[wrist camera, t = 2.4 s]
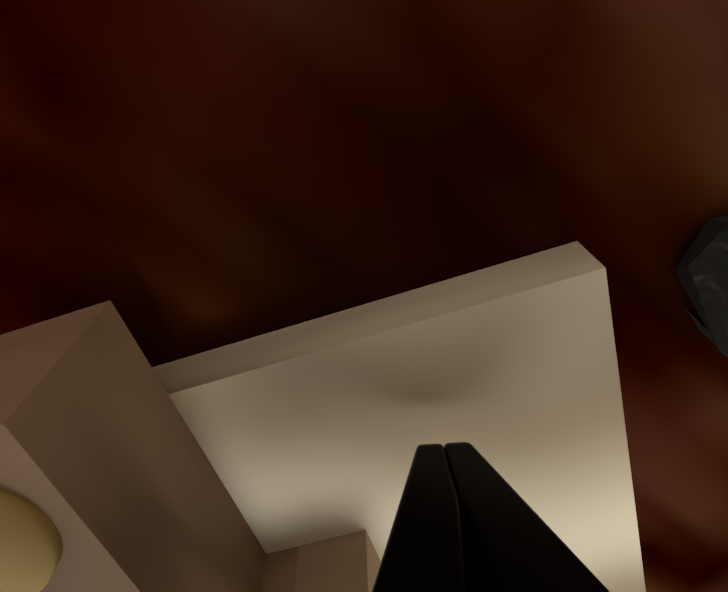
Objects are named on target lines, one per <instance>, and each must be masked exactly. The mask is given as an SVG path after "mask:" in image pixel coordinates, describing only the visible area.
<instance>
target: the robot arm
mask: <svg viewBox="0 0 728 592" xmlns="http://www.w3.org/2000/svg"><path fill="white" fill-rule="evenodd" d="M372 592H610V591H609V590H608V589H607V588H606V587H605V586H604V585H603V584H602V583H601V582H600V581H599V580H598V578H597V577H596V576H595V575H594V574H593V573H592V572H591V571H590V570H589V569H588V568H587V567H586V566H585V565H584V564H583V562H582V561H581V560H580V559H579V558H578V557H577V556H576V555H575V554H574V553H573V552H572V551H571V550H570V549H569V548H568V546H567V545H566V544H565V543H564V542H563V541H562V540H561V539H560V538H559V537H558V536H557V535H556V534H555V533H554V532H553V530H552V529H551V528H550V527H549V526H548V525H547V524H546V523H545V522H544V521H543V520H542V519H541V518H540V517H539V516H538V515H537V513H536V512H535V511H534V510H533V509H532V508H531V507H530V506H529V505H528V504H527V503H526V502H525V501H524V500H523V499H522V497H521V496H520V495H519V494H518V493H517V492H516V491H515V490H514V489H513V488H512V487H511V486H510V485H509V484H508V483H507V481H506V480H505V479H504V478H503V477H502V476H501V475H500V474H499V473H498V472H497V471H496V470H495V469H494V468H493V467H492V466H491V464H490V463H489V462H488V461H487V460H486V459H485V458H484V457H483V456H482V455H481V454H480V453H479V452H478V451H477V450H476V448H475V447H474V446H473V445H472V444H470V443H468V442H454V443H446V444H445V445H444V447H443V445H442V444H439V443H436V444H421V445H419V446H418V447H417V448H416V451H415V454H414V458H413V461H412V464H411V467H410V470H409V474H408V477H407V480H406V483H405V487H404V490H403V493H402V496H401V499H400V503H399V506H398V509H397V512H396V515H395V519H394V522H393V525H392V528H391V531H390V535H389V538H388V541H387V544H386V547H385V551H384V554H383V557H382V560H381V564H380V567H379V570H378V573H377V576H376V580H375V583H374V586H373V589H372Z"/></svg>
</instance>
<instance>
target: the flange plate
mask: <svg viewBox="0 0 728 592" xmlns="http://www.w3.org/2000/svg"><path fill="white" fill-rule="evenodd" d="M380 564H381V561H380V559H379V557H378V555H377V552H376V550H375V548H374V546H373V544H372V542H371V540H370V537H369V535H368V533H367V531H366V530H363V531H359V532H355V533H350V534H346V535H342V536H338V537H334V538H330V539H326V540H322V541H318V542H314V543H310V544H306V545H302V546H297V547H293V548H289V549H285V550H281V551H277V552H273V553H269V554H266V553H265V551H264V549H263V548H262V546H261V545H260V543H259V541H258V540H257V538H256V536H255V535H254V533H253V532H252V530H251V528H250V527H249V525H248V523H247V522H246V520H245V519H244V517H243V515H242V514H241V512H240V510H239V509H238V507H237V505H236V504H235V502H234V501H233V499H232V497H231V496H230V494H229V492H228V491H227V489H226V488H225V486H224V484H223V483H222V481H221V479H220V478H219V476H218V475H217V473H216V471H215V470H214V468H213V466H212V465H211V463H210V461H209V460H208V458H207V457H206V455H205V453H204V452H203V450H202V448H201V447H200V445H199V444H198V442H197V440H196V439H195V437H194V435H193V434H192V432H191V431H190V429H189V427H188V426H187V424H186V422H185V421H184V419H183V417H182V416H181V414H180V413H179V411H178V409H177V408H176V406H175V404H174V403H173V401H172V400H171V398H170V396H169V395H168V393H167V391H166V390H165V388H164V387H163V385H162V383H161V382H160V380H159V378H158V377H157V375H156V373H155V372H154V370H153V369H152V367H151V365H150V364H149V362H148V360H147V359H146V357H145V356H144V354H143V352H142V351H141V349H140V347H139V346H138V344H137V343H136V341H135V339H134V338H133V336H132V334H131V333H130V331H129V329H128V328H127V326H126V325H125V323H124V321H123V320H122V318H121V316H120V315H119V313H118V312H117V310H116V308H115V307H114V305H113V303H112V302H111V300H109V301H106V302H103V303H99V304H96V305H93V306H90V307H87V308H84V309H81V310H77V311H74V312H71V313H68V314H65V315H62V316H59V317H55V318H52V319H49V320H46V321H43V322H40V323H36V324H33V325H30V326H27V327H24V328H21V329H18V330H14V331H11V332H8V333H5V334H2V335H0V592H372V589H373V586H374V583H375V580H376V576H377V573H378V570H379V567H380Z"/></svg>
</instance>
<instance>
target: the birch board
mask: <svg viewBox="0 0 728 592" xmlns="http://www.w3.org/2000/svg"><path fill="white" fill-rule="evenodd" d="M152 369H153V370H154V372H155V373H156V375H157V377H158V378H159V380H160V382H161V383H162V385H163V387H164V388H165V390H166V391H167V393H168V395H169V396H170V398H171V400H172V401H173V403H174V404H175V406H176V408H177V409H178V411H179V413H180V414H181V416H182V417H183V419H184V421H185V422H186V424H187V426H188V427H189V429H190V431H191V432H192V434H193V435H194V437H195V439H196V440H197V442H198V444H199V445H200V447H201V448H202V450H203V452H204V453H205V455H206V457H207V458H208V460H209V461H210V463H211V465H212V466H213V468H214V470H215V471H216V473H217V475H218V476H219V478H220V479H221V481H222V483H223V484H224V486H225V488H226V489H227V491H228V492H229V494H230V496H231V497H232V499H233V501H234V502H235V504H236V505H237V507H238V509H239V510H240V512H241V514H242V515H243V517H244V519H245V520H246V522H247V523H248V525H249V527H250V528H251V530H252V532H253V533H254V535H255V536H256V538H257V540H258V541H259V543H260V545H261V546H262V548H263V549H264V551H265V553H266V554H269V553H273V552H277V551H281V550H285V549H289V548H293V547H297V546H302V545H306V544H310V543H314V542H318V541H322V540H326V539H330V538H334V537H338V536H342V535H346V534H350V533H355V532H359V531H363V530H366V531H367V533H368V535H369V537H370V540H371V542H372V544H373V546H374V548H375V550H376V552H377V555H378V557H379V559H380V561H381V560H382V557H383V554H384V551H385V547H386V544H387V541H388V538H389V535H390V531H391V528H392V525H393V522H394V519H395V515H396V512H397V509H398V506H399V503H400V499H401V496H402V493H403V490H404V487H405V483H406V480H407V477H408V474H409V470H410V467H411V464H412V461H413V458H414V454H415V451H416V448H417V447H418V446H419V445H421V444H436V443H439V444H442V445H443V447H444V445H445V444H446V443H454V442H468V443H470V444H472V445H473V446H474V447H475V448H476V450H477V451H478V452H479V453H480V454H481V455H482V456H483V457H484V458H485V459H486V460H487V461H488V462H489V463H490V464H491V466H492V467H493V468H494V469H495V470H496V471H497V472H498V473H499V474H500V475H501V476H502V477H503V478H504V479H505V480H506V481H507V483H508V484H509V485H510V486H511V487H512V488H513V489H514V490H515V491H516V492H517V493H518V494H519V495H520V496H521V497H522V499H523V500H524V501H525V502H526V503H527V504H528V505H529V506H530V507H531V508H532V509H533V510H534V511H535V512H536V513H537V515H538V516H539V517H540V518H541V519H542V520H543V521H544V522H545V523H546V524H547V525H548V526H549V527H550V528H551V529H552V530H553V532H554V533H555V534H556V535H557V536H558V537H559V538H560V539H561V540H562V541H563V542H564V543H565V544H566V545H567V546H568V548H569V549H570V550H571V551H572V552H573V553H574V554H575V555H576V556H577V557H578V558H579V559H580V560H581V561H582V562H583V564H584V565H585V566H586V567H587V568H588V569H589V570H590V571H591V572H592V573H593V574H594V575H595V576H596V577H597V578H598V580H599V581H600V582H601V583H602V584H603V585H604V586H605V587H606V588H607V589H608V590H609V591H610V592H646V589H645V581H644V573H643V565H642V557H641V549H640V541H639V532H638V524H637V516H636V508H635V500H634V492H633V484H632V476H631V468H630V460H629V452H628V444H627V436H626V428H625V420H624V412H623V404H622V396H621V388H620V380H619V372H618V364H617V355H616V347H615V339H614V331H613V323H612V315H611V307H610V299H609V291H608V283H607V275H606V268H605V267H604V266H603V265H602V264H601V263H600V262H599V261H598V260H597V259H596V258H595V257H594V256H593V255H592V254H590V253H589V252H588V251H587V250H586V249H585V248H584V247H583V246H582V245H581V244H580V243H579V242H578V241H575V242H571V243H568V244H565V245H561V246H558V247H555V248H551V249H548V250H545V251H541V252H538V253H534V254H531V255H528V256H524V257H521V258H518V259H514V260H511V261H508V262H504V263H501V264H498V265H494V266H491V267H487V268H484V269H481V270H477V271H474V272H471V273H467V274H464V275H461V276H457V277H454V278H451V279H447V280H444V281H440V282H437V283H434V284H430V285H427V286H424V287H420V288H417V289H414V290H410V291H407V292H403V293H400V294H397V295H393V296H390V297H387V298H383V299H380V300H377V301H373V302H370V303H367V304H363V305H360V306H356V307H353V308H350V309H346V310H343V311H340V312H336V313H333V314H330V315H326V316H323V317H320V318H316V319H313V320H309V321H306V322H303V323H299V324H296V325H293V326H289V327H286V328H283V329H279V330H276V331H273V332H269V333H266V334H262V335H259V336H256V337H252V338H249V339H246V340H242V341H239V342H236V343H232V344H229V345H225V346H222V347H219V348H215V349H212V350H209V351H205V352H202V353H199V354H195V355H192V356H189V357H185V358H182V359H178V360H175V361H172V362H168V363H165V364H162V365H158V366H155V367H152Z"/></svg>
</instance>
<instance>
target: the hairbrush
mask: <svg viewBox="0 0 728 592" xmlns="http://www.w3.org/2000/svg"><path fill="white" fill-rule="evenodd" d="M675 268H676V272H677V276H678V278H679V280H680V281H681V283H682V285H683V287H684V289H685V290H686V292H687V294H688V296H689V298H690V299H691V301H692V303H693V305H694V307H695V308H696V310H697V312H698V314H699V316H700V317H701V319H702V321H703V323H704V325H705V326H706V328H707V329H706V328H705V327H704V326H703V325H702V324H701V323H700V322H699V321H698V320H697V319H696V318H695V317H694V316H693V315H692V314H691V313H690V312H689V311H688V310H687V308H686V306H685V305H684V303H683V305H684V307H685V309H686V310H687V312H688V313H689V315H690V316H691V318H692V319H693V321H694V322H695V324H696V325H697V327H698V328H699V329H700V331H701V332H702V333H703V334H704V335H705V336H706V337H707V338H709V339H710V340H711V341H712V342H713V343H714V344H716V346H717V348H718V350H719V352H721V353H722V354H724V355H725V356H727V357H728V215H725V216H720V217H715V218H711V219H710V220H709V221H708V223H707V224H706V225H705V226H704V227H703V228H702V230H701V231H700V233H699V234H698V236H697V237H696V238H695V240H694V241H693V243H692V244H691V246H690V247H689V248H688V250H687V251H686V253H685V254H684V256H683V257H682V258H681V260H680V261H679V263H678V264H677V265H676V267H675ZM682 302H683V295H682Z"/></svg>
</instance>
